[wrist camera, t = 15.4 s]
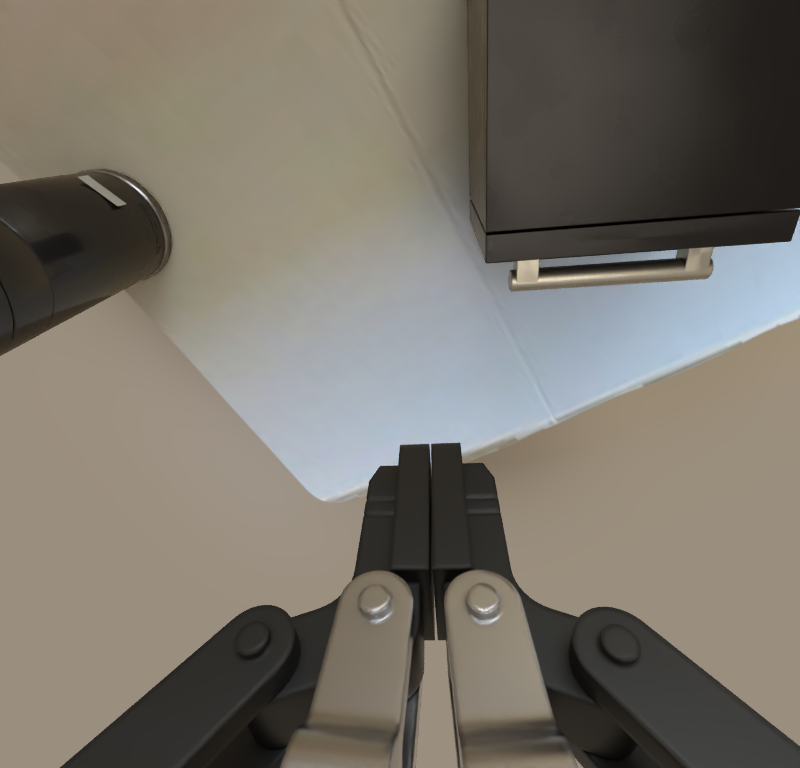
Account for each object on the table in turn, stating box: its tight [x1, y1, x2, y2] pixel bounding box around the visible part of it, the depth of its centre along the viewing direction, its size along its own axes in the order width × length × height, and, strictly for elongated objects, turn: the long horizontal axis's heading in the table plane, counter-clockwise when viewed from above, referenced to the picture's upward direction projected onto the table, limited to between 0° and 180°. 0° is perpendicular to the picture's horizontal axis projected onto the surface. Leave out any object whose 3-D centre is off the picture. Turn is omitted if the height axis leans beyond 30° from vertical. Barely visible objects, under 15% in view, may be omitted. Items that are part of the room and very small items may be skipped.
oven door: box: [470, 200, 800, 292], centre depth 30 cm, size 4×16×14 cm, turn 95°
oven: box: [467, 0, 800, 233], centre depth 25 cm, size 15×16×14 cm
